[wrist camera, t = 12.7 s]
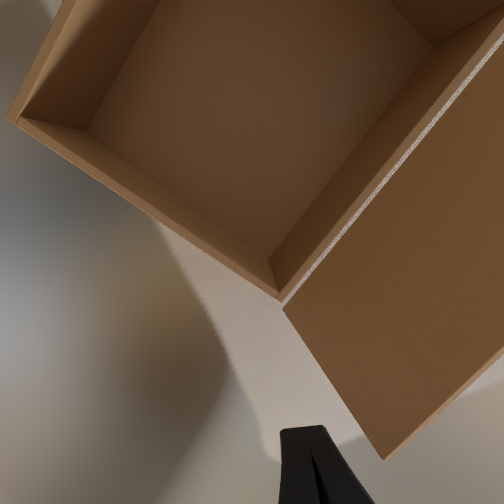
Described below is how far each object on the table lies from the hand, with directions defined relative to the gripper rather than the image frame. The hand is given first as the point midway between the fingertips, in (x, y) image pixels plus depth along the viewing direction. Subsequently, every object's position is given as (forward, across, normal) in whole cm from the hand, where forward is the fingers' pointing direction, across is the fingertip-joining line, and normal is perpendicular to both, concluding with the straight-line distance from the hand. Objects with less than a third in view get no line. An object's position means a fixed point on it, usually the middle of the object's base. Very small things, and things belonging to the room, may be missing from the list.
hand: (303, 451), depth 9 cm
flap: (+1, -6, -8) cm, 10 cm away
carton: (+10, 0, -12) cm, 16 cm away
